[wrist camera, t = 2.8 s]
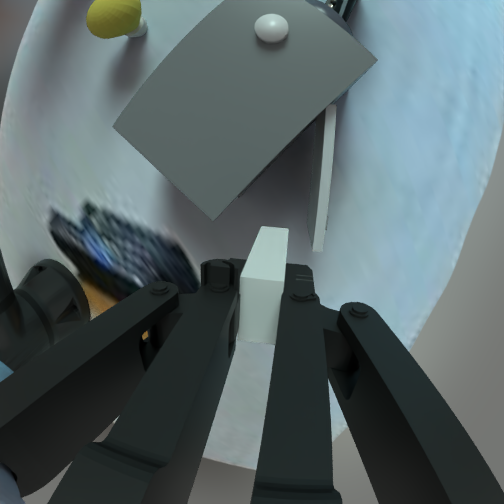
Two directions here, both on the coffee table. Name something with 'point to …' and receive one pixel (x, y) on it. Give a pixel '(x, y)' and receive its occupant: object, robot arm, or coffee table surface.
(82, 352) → the robot arm
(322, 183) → the cabinet door
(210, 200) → the small grey cabinet
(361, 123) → the coffee table surface
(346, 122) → the coffee table surface
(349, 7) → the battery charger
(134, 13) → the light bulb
